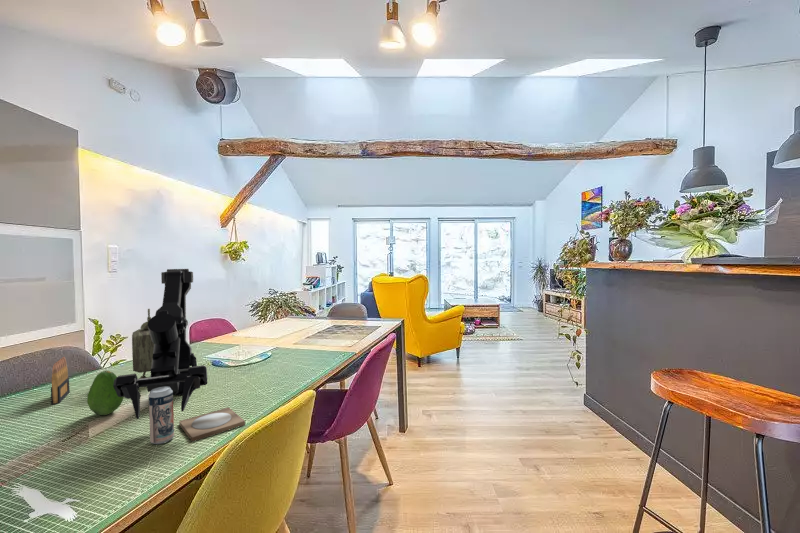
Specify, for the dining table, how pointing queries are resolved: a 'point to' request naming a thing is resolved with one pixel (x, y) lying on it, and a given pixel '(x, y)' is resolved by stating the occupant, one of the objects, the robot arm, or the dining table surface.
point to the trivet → (211, 423)
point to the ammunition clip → (59, 381)
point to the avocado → (103, 394)
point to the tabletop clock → (142, 349)
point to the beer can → (161, 415)
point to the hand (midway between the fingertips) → (160, 414)
